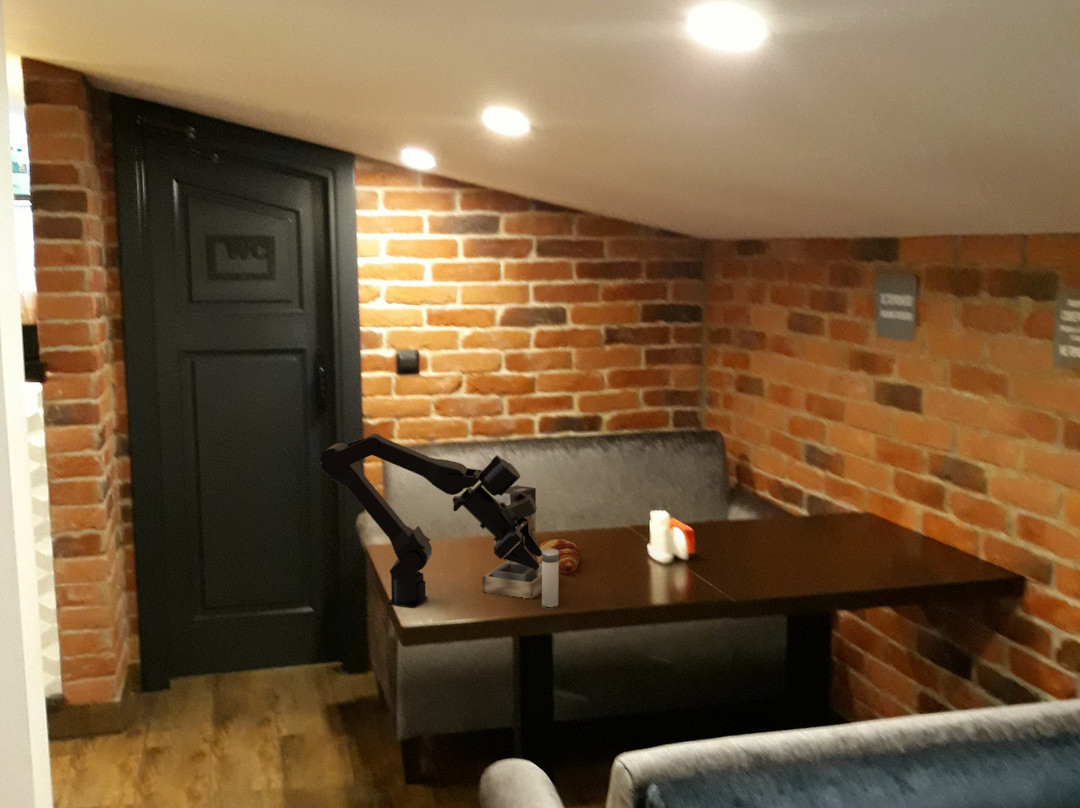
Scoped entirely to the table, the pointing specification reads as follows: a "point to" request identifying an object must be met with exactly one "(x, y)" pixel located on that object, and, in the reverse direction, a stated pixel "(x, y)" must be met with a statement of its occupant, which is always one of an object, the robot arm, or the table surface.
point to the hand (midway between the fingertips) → (539, 561)
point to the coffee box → (511, 497)
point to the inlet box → (513, 580)
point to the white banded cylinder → (550, 577)
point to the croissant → (563, 554)
